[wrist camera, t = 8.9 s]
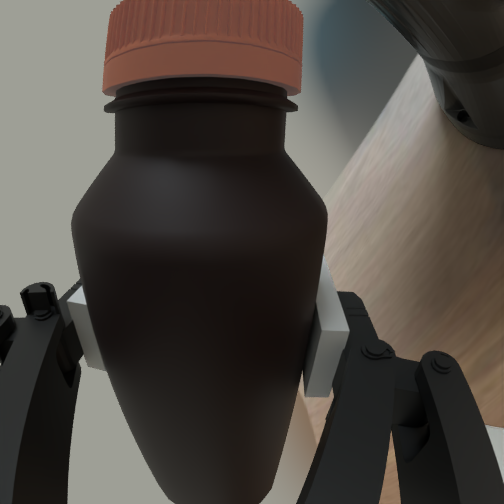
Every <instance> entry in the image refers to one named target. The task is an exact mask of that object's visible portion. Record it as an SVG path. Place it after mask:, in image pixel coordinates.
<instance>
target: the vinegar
mask: <svg viewBox="0 0 504 504" xmlns="http://www.w3.org/2000/svg"><path fill="white" fill-rule="evenodd" d="M302 46H303V14H301V11H299V8H297V7H296V5H295V4H292V2H291V1H288V0H123V1H121V2H120V5H116V8H114V9H113V11H112V12H111V14H110V19H109V26H108V34H107V43H106V52H105V61H104V73H103V91H102V92H103V93H104V94H105V95H108V96H114V97H116V98H115V100H113V101H112V102H110V103H108V104H107V105H105V106H104V111H105V112H107V113H115V152H114V154H113V156H112V157H111V158H110V160H109V161H108V163H107V164H106V165H105V166H104V168H103V169H102V171H101V172H100V173H99V175H98V176H97V177H96V179H95V180H94V182H93V183H92V184H91V186H90V187H89V189H88V190H87V192H86V193H85V195H84V196H83V198H82V199H81V201H80V202H79V204H78V205H77V207H76V209H75V211H74V213H73V217H72V222H71V227H72V228H71V229H72V237H73V242H74V248H75V254H76V259H77V264H78V269H79V274H80V279H81V283H82V288H83V292H84V296H85V300H86V304H87V308H88V312H89V316H90V319H91V323H92V326H93V330H94V333H95V337H96V340H97V343H98V346H99V349H100V353H101V356H102V359H103V362H104V365H105V367H106V370H107V373H108V376H109V378H110V381H111V384H112V387H113V389H114V392H115V394H116V397H117V399H118V402H119V404H120V407H121V409H122V412H123V414H124V416H125V419H126V421H127V423H128V425H129V427H130V430H131V432H132V434H133V436H134V438H135V440H136V442H137V445H138V447H139V449H140V450H141V453H142V455H143V457H144V459H145V461H146V462H147V464H148V466H149V468H150V470H151V471H152V474H153V475H154V477H155V479H156V481H157V483H158V484H159V486H160V487H161V489H162V490H163V492H164V493H165V495H166V496H167V497H168V499H170V500H171V501H172V502H174V503H175V504H259V503H261V501H262V500H263V499H264V498H265V496H266V495H267V494H268V493H269V491H270V490H271V488H272V485H273V482H274V479H275V475H276V472H277V468H278V465H279V462H280V458H281V455H282V451H283V447H284V444H285V440H286V436H287V432H288V428H289V425H290V420H291V416H292V412H293V408H294V404H295V400H296V396H297V392H298V387H299V383H300V379H301V374H302V369H303V365H304V360H305V355H306V351H307V346H308V341H309V336H310V330H311V325H312V320H313V315H314V309H315V303H316V298H317V292H318V286H319V280H320V274H321V267H322V261H323V254H324V247H325V240H326V233H327V222H328V213H327V209H326V206H325V204H324V202H323V200H322V199H321V197H320V196H319V195H318V193H317V192H316V191H315V189H314V188H313V187H312V185H311V184H310V183H309V182H308V180H307V179H306V177H305V176H304V175H303V173H302V172H301V171H300V169H299V168H298V167H297V166H296V165H295V163H294V162H293V161H292V159H291V158H290V157H289V155H288V154H287V153H286V151H285V149H284V142H285V124H286V123H285V122H286V112H294V111H298V106H297V105H296V104H295V103H293V102H291V101H290V100H288V99H287V96H294V95H297V94H298V93H301V78H302Z"/></svg>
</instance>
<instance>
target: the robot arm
mask: <svg viewBox="0 0 504 504" xmlns="http://www.w3.org/2000/svg"><path fill="white" fill-rule="evenodd" d="M366 1H367V2H368V3H369V4H370V5H371V6H373V7H374V8H375V9H376V10H377V11H378V12H379V13H380V14H381V15H382V16H383V17H384V18H385V19H386V20H387V21H388V22H389V23H390V24H391V25H392V26H393V27H394V28H395V29H396V30H397V31H398V32H399V33H400V34H401V35H402V36H403V37H404V38H405V39H406V40H407V41H408V42H409V43H410V44H411V46H412V47H413V48H414V49H415V50H416V51H417V52H418V53H419V55H420V56H421V57H422V58H423V60H424V63H425V66H426V68H427V71H428V74H429V77H430V80H431V83H432V87H433V90H434V93H435V96H436V99H437V101H438V103H439V105H440V107H441V108H442V110H443V111H444V113H445V114H446V115H447V117H448V118H449V120H450V121H451V122H452V124H453V125H454V126H455V127H456V128H457V129H458V130H459V131H460V132H461V133H462V134H463V135H465V136H466V137H468V138H469V139H471V140H473V141H475V142H477V143H479V144H482V145H484V146H488V147H492V148H498V149H504V0H366ZM20 295H21V298H22V301H23V304H24V307H25V310H26V313H27V316H26V318H14V317H13V315H12V313H11V310H10V308H9V307H8V306H5V305H0V363H1V366H0V504H67V496H68V494H67V493H68V471H69V457H70V446H71V436H72V428H73V420H74V413H75V405H76V399H77V393H78V388H79V382H80V377H81V367H80V364H79V360H80V358H81V357H82V356H83V354H84V357H85V360H86V362H87V365H88V367H92V368H96V369H100V370H103V371H107V370H106V367H105V365H104V362H103V359H102V356H101V353H100V349H99V346H98V343H97V340H96V337H95V333H94V330H93V326H92V323H91V319H90V316H89V312H88V308H87V304H86V300H85V296H84V292H83V288H82V283H81V279H80V280H79V281H77V282H76V284H74V285H73V287H71V290H70V289H69V290H68V291H67V292H66V293H65V294H64V295H63V296H62V297H61V298H60V299H59V300H58V299H57V295H56V292H55V288H54V286H53V285H52V284H50V283H47V282H39V283H35V284H32V285H29V286H27V287H26V288H24V289H23V290H22V291H21V292H20ZM302 370H303V381H304V393H305V397H329V394H330V391H331V388H332V387H333V393H334V399H333V401H332V404H331V406H330V409H329V411H328V414H327V417H326V419H325V420H326V423H325V426H324V429H323V432H322V435H321V439H320V442H319V444H318V447H317V450H316V453H315V456H314V459H313V462H312V465H311V467H310V470H309V473H308V475H307V478H306V481H305V483H304V486H303V488H302V491H301V493H300V496H299V498H298V500H297V503H296V504H379V500H380V495H381V490H382V485H383V480H384V474H385V469H386V462H387V456H388V449H389V442H390V434H391V431H392V437H393V443H394V449H395V456H396V463H397V471H398V479H399V488H400V498H401V504H504V482H503V478H502V475H501V471H500V468H499V465H498V461H497V458H496V455H495V452H494V449H493V446H492V443H491V440H490V438H489V435H488V432H487V429H486V427H485V424H484V421H483V419H482V416H481V414H480V411H479V409H478V406H477V404H476V402H475V399H474V397H473V395H472V392H471V390H470V388H469V385H468V383H467V381H466V379H465V377H464V374H463V372H462V370H461V368H460V366H459V364H458V363H457V361H456V360H455V359H454V358H453V357H451V356H450V355H449V354H447V353H444V352H441V351H429V352H427V353H425V354H424V355H423V357H422V359H421V361H420V362H417V361H412V360H407V359H402V358H399V357H396V355H395V351H394V350H393V348H392V347H391V346H390V345H389V344H387V343H386V342H384V341H382V340H379V339H378V336H377V334H376V331H375V329H374V327H373V324H372V322H371V320H370V317H368V313H367V310H365V306H364V304H363V301H362V299H360V298H359V297H358V296H357V295H356V294H355V293H354V292H341V291H336V288H335V285H334V282H333V280H332V277H331V274H330V271H329V268H328V265H327V263H326V260H325V257H324V254H323V261H322V267H321V274H320V280H319V286H318V292H317V298H316V303H315V309H314V315H313V320H312V325H311V330H310V336H309V341H308V346H307V351H306V355H305V360H304V365H303V369H302Z"/></svg>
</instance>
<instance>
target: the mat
mask: <svg viewBox="0 0 504 504" xmlns="http://www.w3.org/2000/svg"><path fill="white" fill-rule="evenodd" d="M485 427H486V429H487V432H488V435H489V438H490V440H491V443H492V446H493V449H494V452H495V455H496V458H497V461H498V465H499V468H500V471H501V475H502V478H503V482H504V428H500V427H494V426H489V425H485Z"/></svg>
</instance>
